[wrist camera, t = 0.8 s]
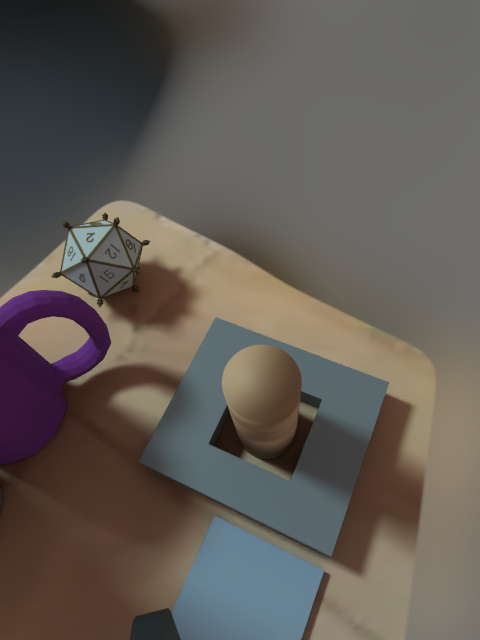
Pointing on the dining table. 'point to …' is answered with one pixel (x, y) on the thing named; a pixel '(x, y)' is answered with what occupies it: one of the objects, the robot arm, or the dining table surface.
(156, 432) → the board
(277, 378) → the peg
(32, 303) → the mug
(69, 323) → the dining table surface
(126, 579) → the dining table surface
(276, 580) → the pad
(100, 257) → the game die
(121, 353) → the dining table surface
